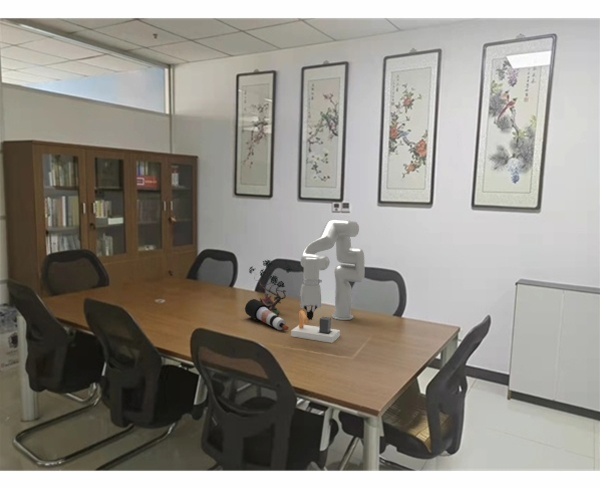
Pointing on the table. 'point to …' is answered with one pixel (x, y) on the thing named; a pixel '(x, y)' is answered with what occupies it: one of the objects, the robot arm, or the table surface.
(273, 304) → the bonsai tree
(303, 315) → the orange piece
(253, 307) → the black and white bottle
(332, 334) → the socket block
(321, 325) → the plug
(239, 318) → the table surface
